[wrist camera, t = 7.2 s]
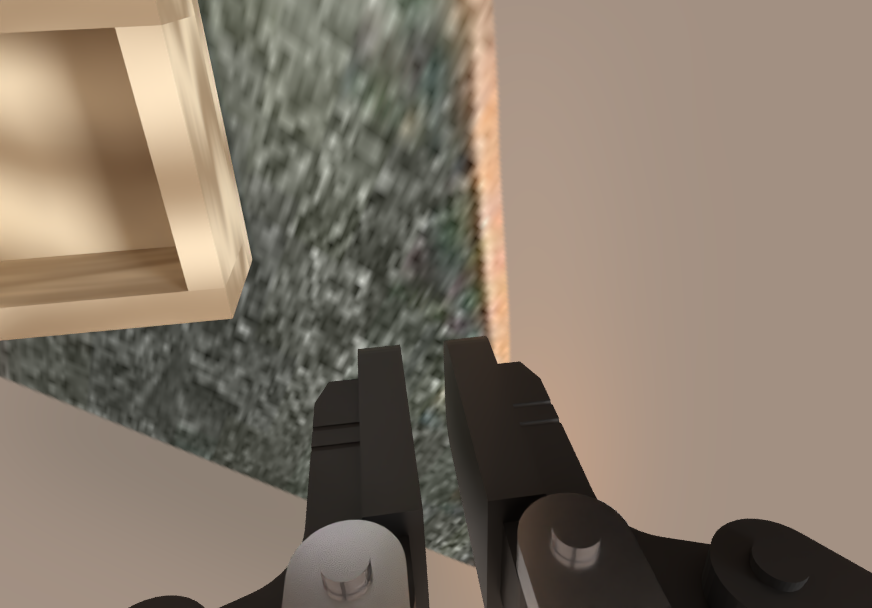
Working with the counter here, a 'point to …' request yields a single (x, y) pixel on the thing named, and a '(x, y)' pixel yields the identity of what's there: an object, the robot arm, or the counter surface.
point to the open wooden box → (113, 170)
